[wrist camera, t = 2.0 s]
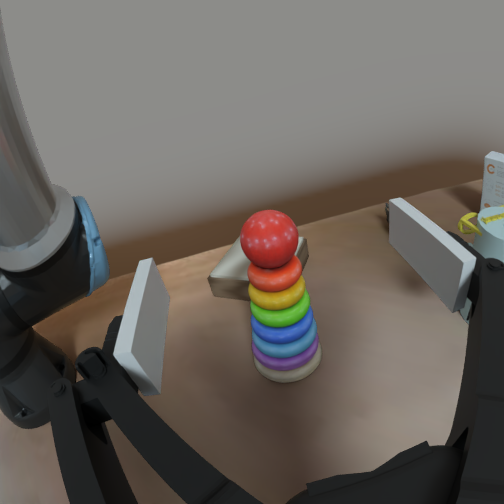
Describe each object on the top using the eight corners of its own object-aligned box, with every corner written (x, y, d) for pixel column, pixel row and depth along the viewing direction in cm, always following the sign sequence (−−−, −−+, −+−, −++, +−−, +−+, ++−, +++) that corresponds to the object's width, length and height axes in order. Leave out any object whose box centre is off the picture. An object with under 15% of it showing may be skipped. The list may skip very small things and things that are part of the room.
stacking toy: (302, 395, 31) (276, 247, 21) (242, 371, 36) (193, 232, 26) (333, 344, 36) (322, 199, 26) (277, 327, 41) (247, 193, 31)
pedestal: (213, 296, 49) (206, 275, 47) (244, 253, 58) (239, 233, 56) (287, 305, 44) (283, 282, 42) (308, 256, 53) (306, 236, 51)
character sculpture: (503, 264, 39) (519, 187, 32) (545, 307, 29) (573, 225, 22) (406, 297, 40) (414, 209, 33) (445, 358, 30) (474, 263, 23)
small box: (517, 219, 48) (525, 160, 41) (511, 231, 45) (521, 167, 38) (486, 207, 54) (491, 150, 47) (478, 217, 51) (484, 156, 45)
